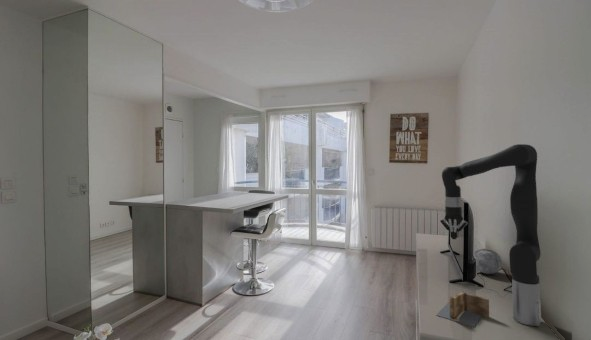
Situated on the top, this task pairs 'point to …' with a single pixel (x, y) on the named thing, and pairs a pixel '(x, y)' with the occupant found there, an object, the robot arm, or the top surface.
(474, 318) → the board
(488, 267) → the decorative orb
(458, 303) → the fence gate
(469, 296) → the fence fixed
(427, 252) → the top surface
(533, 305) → the robot arm
